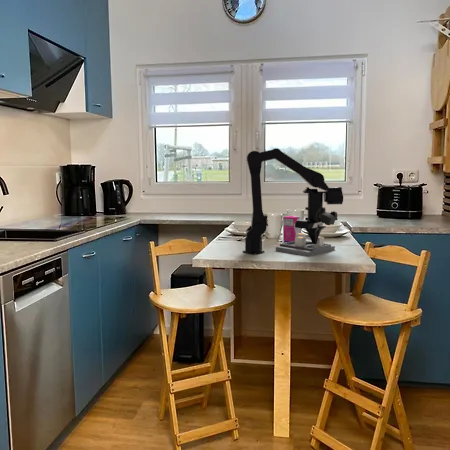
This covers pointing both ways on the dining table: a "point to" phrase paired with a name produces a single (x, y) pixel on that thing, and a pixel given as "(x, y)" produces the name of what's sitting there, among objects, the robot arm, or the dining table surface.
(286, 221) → the supplement box
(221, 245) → the dining table surface
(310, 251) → the switch bank
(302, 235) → the switch tab
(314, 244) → the switch tab
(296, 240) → the switch tab
